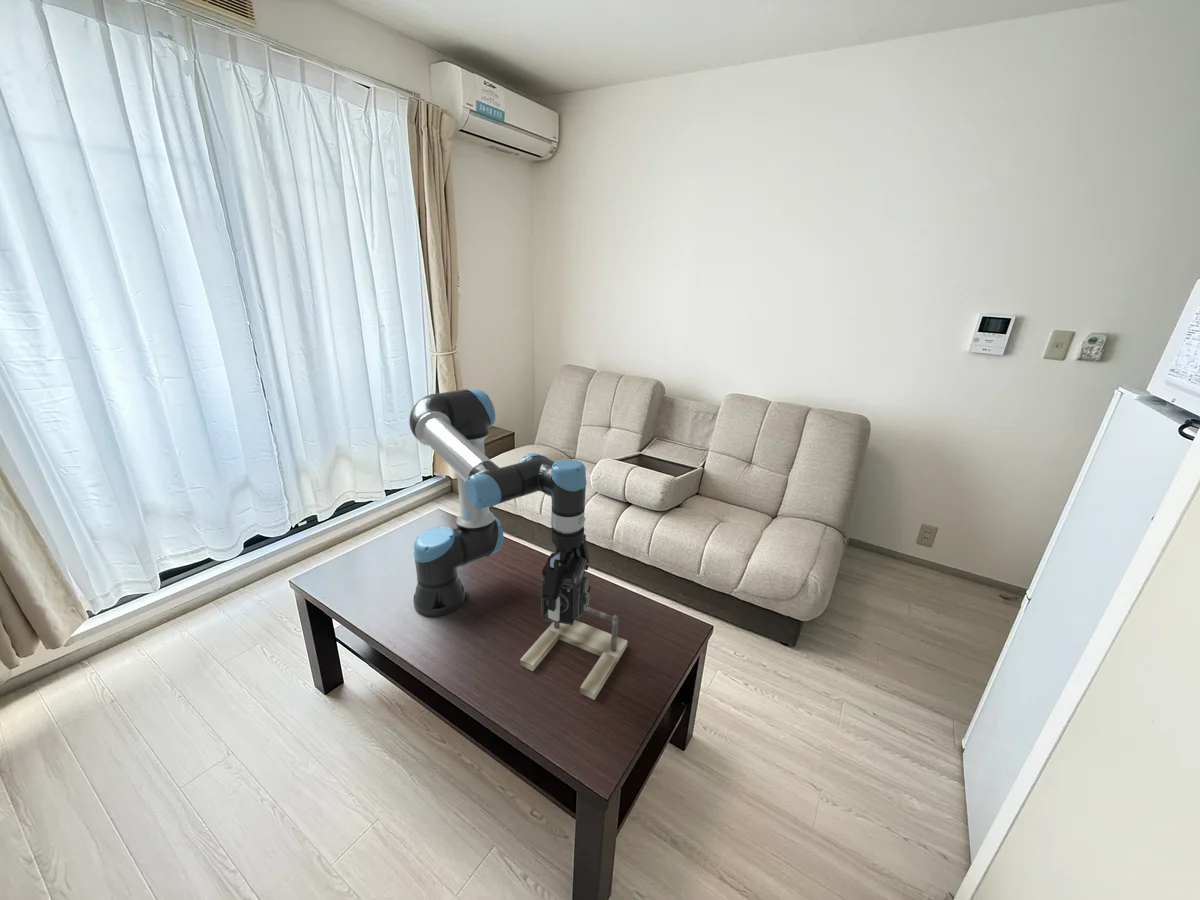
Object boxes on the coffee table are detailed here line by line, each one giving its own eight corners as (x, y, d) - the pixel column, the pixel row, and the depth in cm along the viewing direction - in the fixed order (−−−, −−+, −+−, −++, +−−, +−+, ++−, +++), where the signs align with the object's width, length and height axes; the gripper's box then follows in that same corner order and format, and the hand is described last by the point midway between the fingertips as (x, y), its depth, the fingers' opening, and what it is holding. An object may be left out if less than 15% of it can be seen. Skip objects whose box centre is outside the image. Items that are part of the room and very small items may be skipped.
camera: (582, 632, 108) (584, 579, 103) (539, 624, 110) (539, 572, 105) (591, 604, 118) (594, 554, 113) (552, 597, 120) (552, 548, 114)
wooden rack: (520, 665, 121) (519, 625, 116) (559, 619, 138) (560, 583, 133) (594, 700, 112) (596, 658, 107) (627, 646, 129) (630, 608, 124)
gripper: (554, 555, 94) (554, 640, 102) (605, 509, 114) (601, 583, 121) (524, 545, 97) (526, 628, 105) (578, 502, 117) (576, 574, 124)
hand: (566, 604), depth 113 cm, fingers closed on camera, 11 cm apart
